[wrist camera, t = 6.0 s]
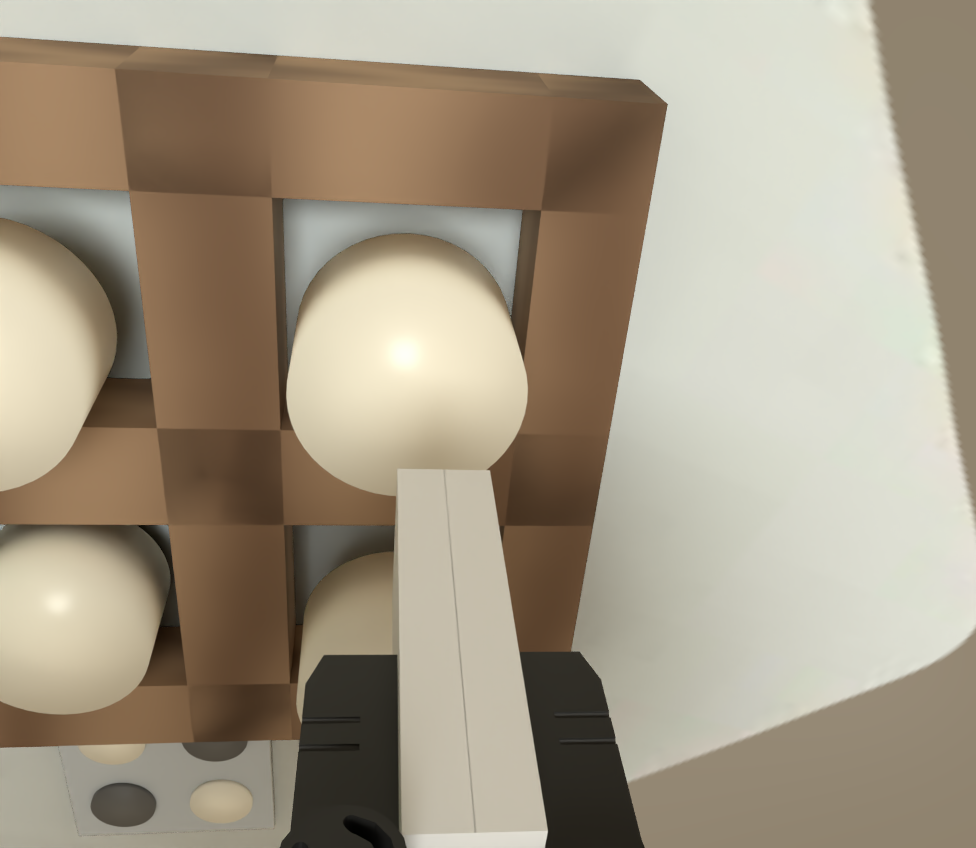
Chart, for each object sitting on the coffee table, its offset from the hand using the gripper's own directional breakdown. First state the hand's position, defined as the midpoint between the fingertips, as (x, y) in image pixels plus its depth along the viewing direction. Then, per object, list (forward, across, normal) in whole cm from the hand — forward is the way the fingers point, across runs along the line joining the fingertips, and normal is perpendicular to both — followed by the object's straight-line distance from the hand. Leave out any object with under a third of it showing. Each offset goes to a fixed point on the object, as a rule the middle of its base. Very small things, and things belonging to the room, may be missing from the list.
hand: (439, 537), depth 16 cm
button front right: (+8, 0, 0) cm, 8 cm away
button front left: (+7, -9, 0) cm, 12 cm away
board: (+11, -5, -4) cm, 12 cm away
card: (+11, -8, -18) cm, 23 cm away
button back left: (+10, -9, -9) cm, 16 cm away
